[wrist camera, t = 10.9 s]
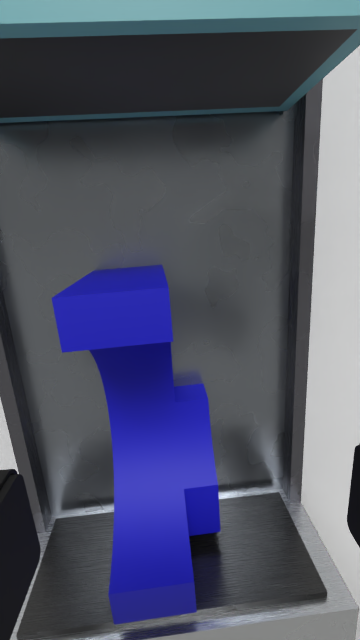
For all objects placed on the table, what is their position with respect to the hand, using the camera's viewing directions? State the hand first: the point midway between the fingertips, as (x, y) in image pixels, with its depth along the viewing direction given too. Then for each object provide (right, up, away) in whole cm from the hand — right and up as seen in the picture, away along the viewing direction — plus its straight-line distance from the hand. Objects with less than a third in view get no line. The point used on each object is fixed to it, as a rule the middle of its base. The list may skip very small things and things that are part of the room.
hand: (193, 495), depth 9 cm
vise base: (-2, +4, +7) cm, 9 cm away
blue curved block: (-2, +2, +7) cm, 7 cm away
